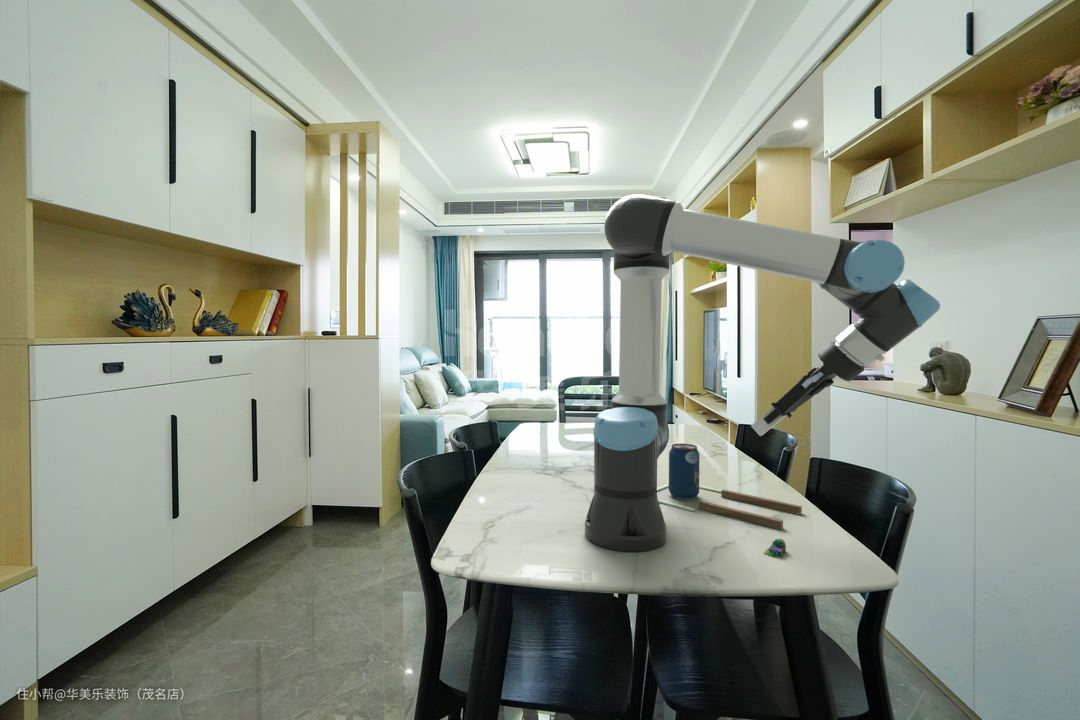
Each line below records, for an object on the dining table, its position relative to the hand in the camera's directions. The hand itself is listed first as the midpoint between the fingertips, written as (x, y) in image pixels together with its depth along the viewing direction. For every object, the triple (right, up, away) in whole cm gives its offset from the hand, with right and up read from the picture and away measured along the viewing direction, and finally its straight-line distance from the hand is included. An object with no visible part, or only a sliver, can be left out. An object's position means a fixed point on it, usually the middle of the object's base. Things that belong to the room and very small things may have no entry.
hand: (756, 430), depth 102 cm
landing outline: (-12, -17, +12) cm, 24 cm away
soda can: (-12, -18, +12) cm, 24 cm away
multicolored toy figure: (-5, -19, -19) cm, 28 cm away
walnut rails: (-1, -18, +2) cm, 18 cm away
